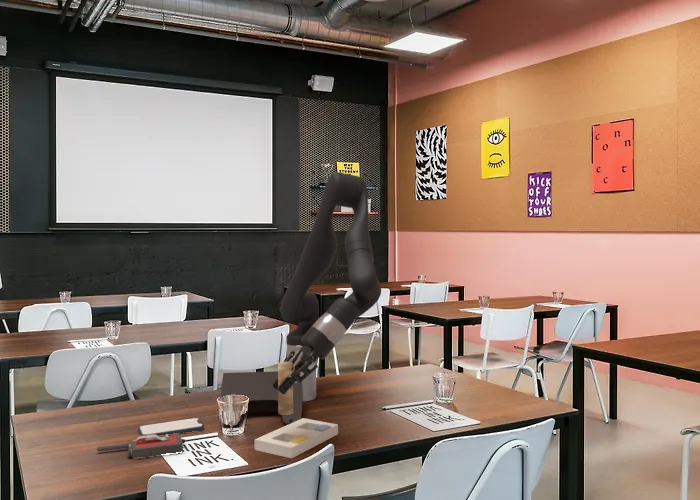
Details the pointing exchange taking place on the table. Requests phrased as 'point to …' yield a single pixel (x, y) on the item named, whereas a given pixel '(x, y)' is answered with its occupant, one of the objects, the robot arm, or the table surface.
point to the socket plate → (296, 437)
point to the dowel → (287, 399)
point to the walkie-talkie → (149, 446)
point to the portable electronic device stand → (261, 392)
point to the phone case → (172, 427)
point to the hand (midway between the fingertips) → (277, 389)
